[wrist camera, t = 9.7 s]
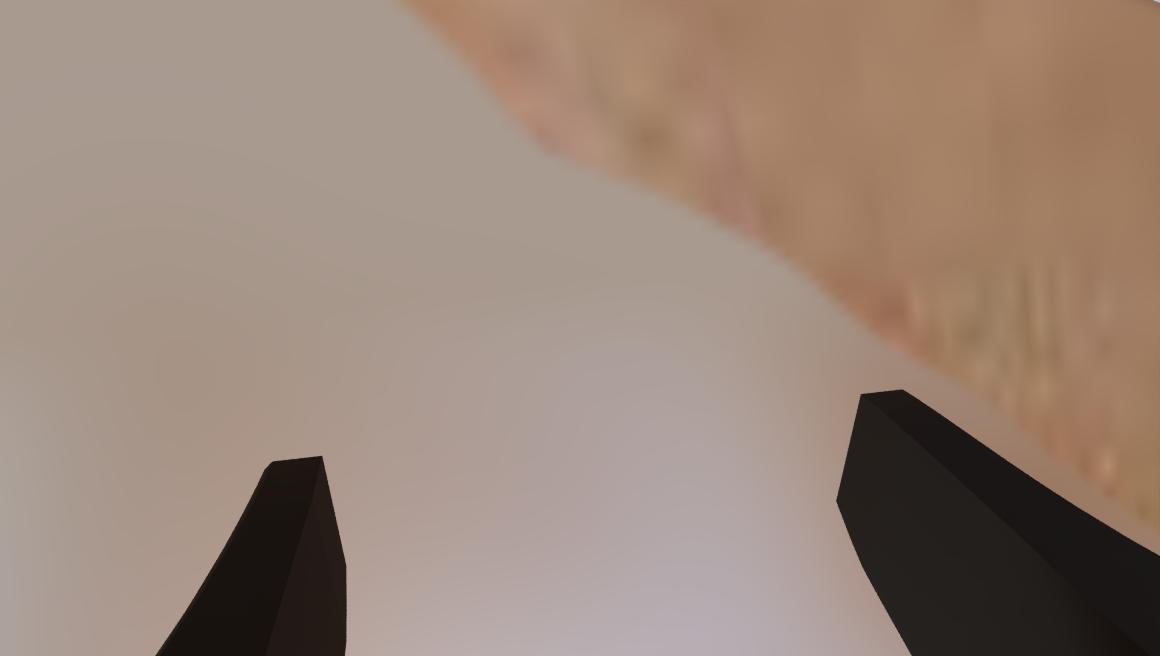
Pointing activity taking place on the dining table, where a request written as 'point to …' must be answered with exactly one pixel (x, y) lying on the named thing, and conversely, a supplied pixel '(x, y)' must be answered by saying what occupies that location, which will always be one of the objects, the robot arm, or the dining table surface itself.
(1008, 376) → the dining table surface
